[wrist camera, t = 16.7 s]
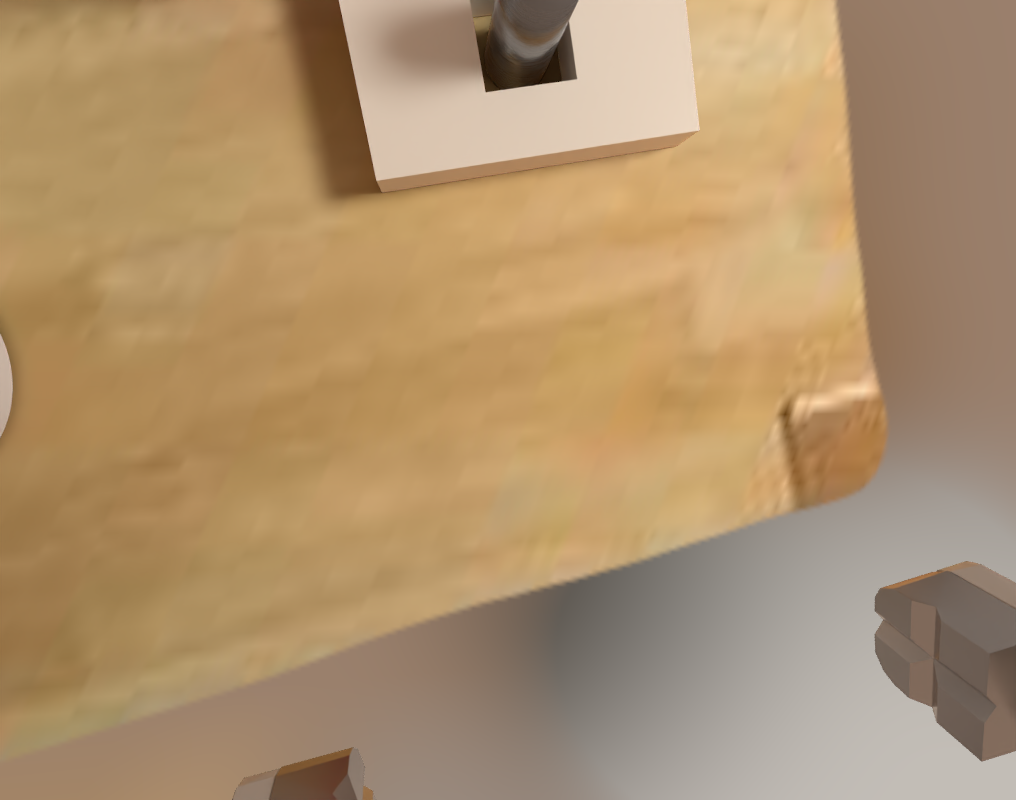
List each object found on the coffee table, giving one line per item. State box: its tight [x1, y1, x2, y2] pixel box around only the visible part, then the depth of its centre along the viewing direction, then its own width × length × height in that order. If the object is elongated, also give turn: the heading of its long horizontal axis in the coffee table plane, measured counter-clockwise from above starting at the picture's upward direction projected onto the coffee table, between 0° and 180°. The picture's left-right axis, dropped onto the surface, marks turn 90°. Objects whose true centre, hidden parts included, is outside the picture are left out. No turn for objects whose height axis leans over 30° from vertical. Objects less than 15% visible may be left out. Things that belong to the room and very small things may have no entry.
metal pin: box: [484, 0, 579, 90], centre depth 27 cm, size 4×4×9 cm
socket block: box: [339, 0, 699, 193], centre depth 30 cm, size 18×12×3 cm, turn 100°
